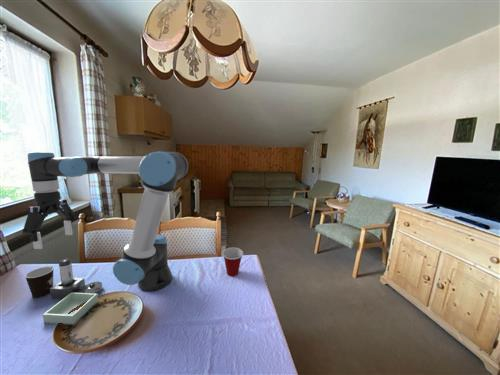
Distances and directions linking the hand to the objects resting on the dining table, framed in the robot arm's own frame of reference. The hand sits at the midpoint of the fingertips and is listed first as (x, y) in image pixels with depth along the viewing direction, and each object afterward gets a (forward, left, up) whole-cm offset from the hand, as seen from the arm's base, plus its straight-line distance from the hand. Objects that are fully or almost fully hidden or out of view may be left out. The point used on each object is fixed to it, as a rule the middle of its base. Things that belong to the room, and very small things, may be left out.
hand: (55, 241), depth 87 cm
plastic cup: (-72, -21, -25) cm, 79 cm away
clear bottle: (-3, -1, -24) cm, 24 cm away
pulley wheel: (-12, -3, -24) cm, 27 cm away
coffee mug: (+8, -2, -25) cm, 26 cm away
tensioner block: (-3, -1, -24) cm, 24 cm away
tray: (-13, +9, -24) cm, 29 cm away
